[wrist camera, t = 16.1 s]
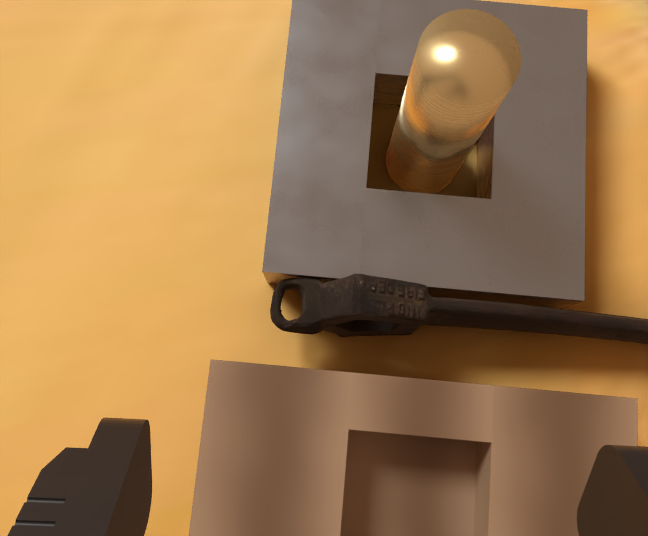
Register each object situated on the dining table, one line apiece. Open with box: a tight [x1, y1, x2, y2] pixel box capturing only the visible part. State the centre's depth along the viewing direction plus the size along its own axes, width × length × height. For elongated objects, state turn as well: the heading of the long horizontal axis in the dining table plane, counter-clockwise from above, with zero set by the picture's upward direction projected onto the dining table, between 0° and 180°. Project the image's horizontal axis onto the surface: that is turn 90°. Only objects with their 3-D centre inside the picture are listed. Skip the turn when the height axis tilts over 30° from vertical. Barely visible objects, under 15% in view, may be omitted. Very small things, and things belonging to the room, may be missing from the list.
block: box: [262, 0, 587, 309], centre depth 30 cm, size 14×14×3 cm
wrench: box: [270, 274, 648, 344], centre depth 28 cm, size 5×5×30 cm
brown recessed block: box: [189, 360, 638, 536], centre depth 26 cm, size 17×10×4 cm, turn 85°
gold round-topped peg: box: [386, 9, 521, 194], centre depth 26 cm, size 4×4×10 cm
